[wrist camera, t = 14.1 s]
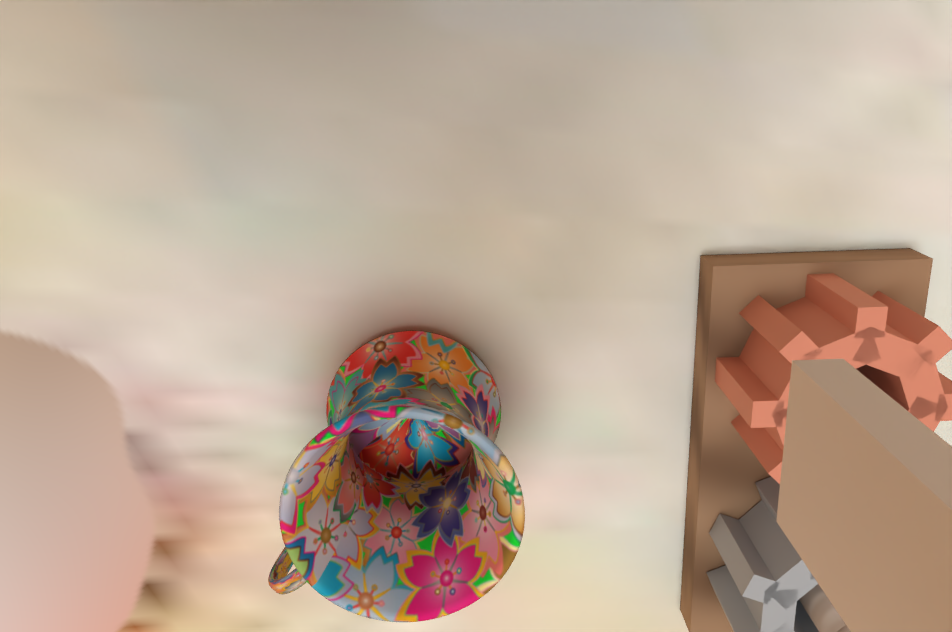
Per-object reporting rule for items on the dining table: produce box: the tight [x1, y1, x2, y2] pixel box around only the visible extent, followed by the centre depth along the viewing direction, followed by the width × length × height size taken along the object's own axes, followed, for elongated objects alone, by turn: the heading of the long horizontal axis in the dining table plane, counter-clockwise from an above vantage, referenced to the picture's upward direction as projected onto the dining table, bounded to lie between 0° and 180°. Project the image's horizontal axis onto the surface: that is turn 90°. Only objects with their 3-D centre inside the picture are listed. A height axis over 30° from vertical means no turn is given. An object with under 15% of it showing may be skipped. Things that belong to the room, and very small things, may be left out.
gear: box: [707, 477, 819, 632], centre depth 40 cm, size 9×9×5 cm
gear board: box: [680, 248, 933, 632], centre depth 38 cm, size 20×10×10 cm, turn 2°
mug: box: [268, 331, 525, 622], centre depth 37 cm, size 12×9×11 cm
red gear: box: [715, 273, 952, 484], centre depth 37 cm, size 9×9×5 cm
